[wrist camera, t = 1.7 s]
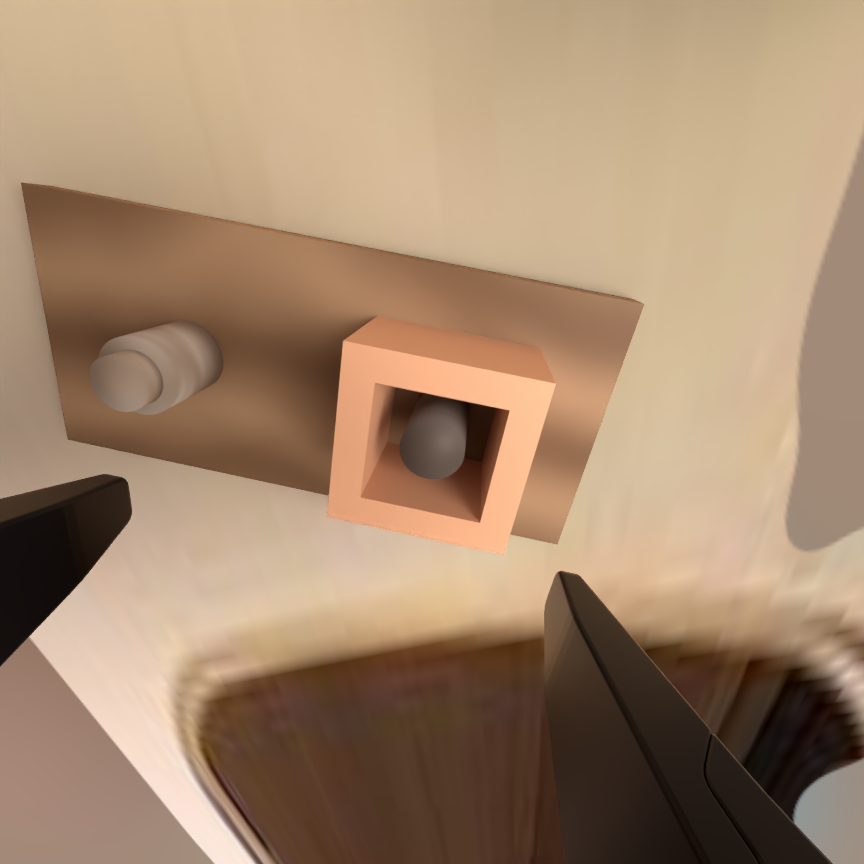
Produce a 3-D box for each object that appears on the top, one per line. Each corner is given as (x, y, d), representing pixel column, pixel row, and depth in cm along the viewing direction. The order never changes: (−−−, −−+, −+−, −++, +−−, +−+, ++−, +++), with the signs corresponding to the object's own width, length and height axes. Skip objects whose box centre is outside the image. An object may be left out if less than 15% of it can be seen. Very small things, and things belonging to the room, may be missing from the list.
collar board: (553, 526, 24) (572, 612, 19) (91, 428, 25) (-21, 482, 20) (633, 299, 19) (690, 324, 14) (52, 186, 20) (-111, 167, 15)
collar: (500, 488, 22) (503, 554, 17) (360, 458, 22) (326, 516, 17) (539, 348, 19) (556, 383, 14) (377, 315, 19) (343, 340, 15)
